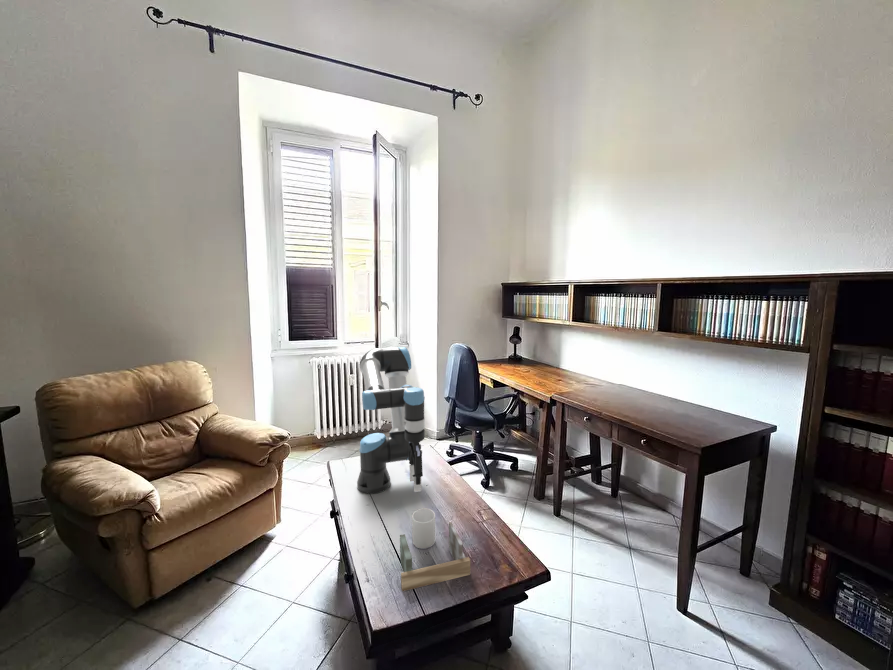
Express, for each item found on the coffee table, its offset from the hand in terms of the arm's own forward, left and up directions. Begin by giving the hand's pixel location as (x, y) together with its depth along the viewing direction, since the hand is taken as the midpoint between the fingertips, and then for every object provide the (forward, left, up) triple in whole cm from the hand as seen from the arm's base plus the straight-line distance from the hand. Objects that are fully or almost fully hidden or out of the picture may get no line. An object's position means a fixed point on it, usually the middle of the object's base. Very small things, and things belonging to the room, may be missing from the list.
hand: (415, 485), depth 140 cm
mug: (+10, 0, -15) cm, 18 cm away
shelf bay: (+25, 0, -15) cm, 29 cm away
